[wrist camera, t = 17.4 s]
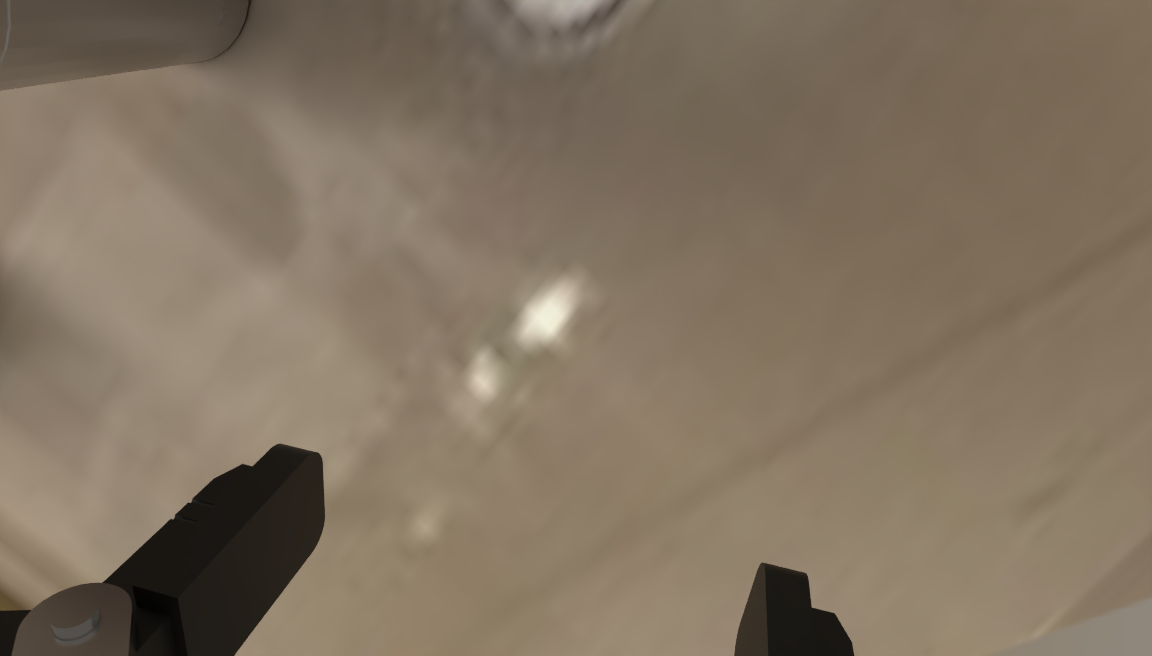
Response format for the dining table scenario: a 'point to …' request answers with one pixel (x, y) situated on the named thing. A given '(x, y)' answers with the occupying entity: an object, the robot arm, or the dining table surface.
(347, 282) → the dining table surface
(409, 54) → the dining table surface
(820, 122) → the dining table surface
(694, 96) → the dining table surface
